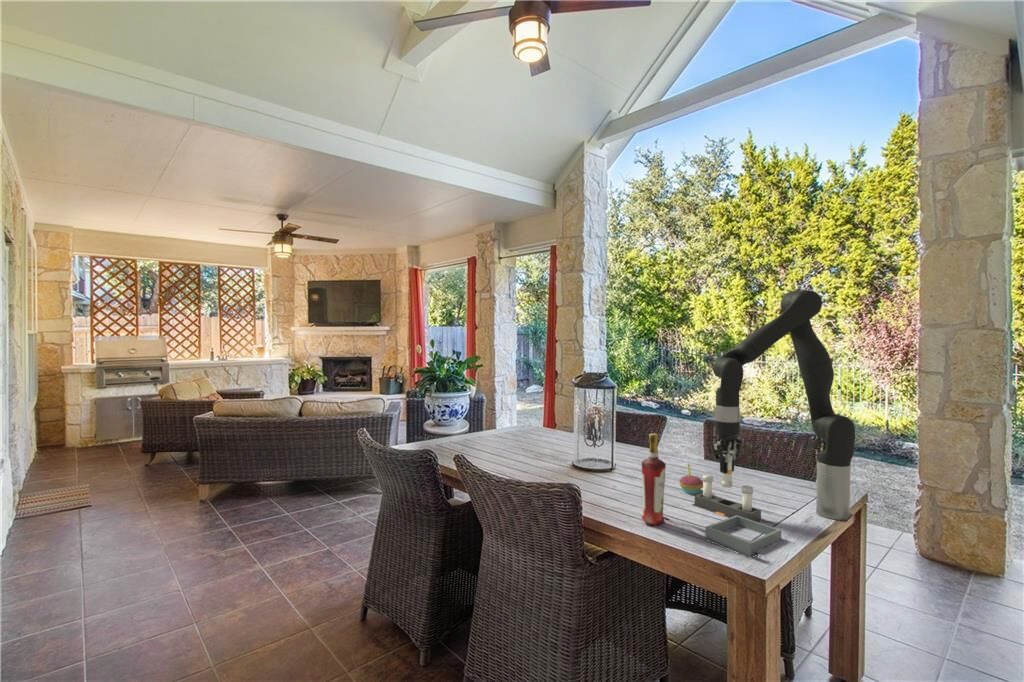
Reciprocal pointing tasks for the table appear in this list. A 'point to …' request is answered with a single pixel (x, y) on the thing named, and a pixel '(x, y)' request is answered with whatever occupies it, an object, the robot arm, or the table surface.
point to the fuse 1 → (707, 486)
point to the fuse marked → (728, 476)
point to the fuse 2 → (747, 498)
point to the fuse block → (726, 508)
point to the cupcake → (691, 483)
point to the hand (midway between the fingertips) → (727, 471)
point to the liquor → (653, 484)
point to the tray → (739, 544)
